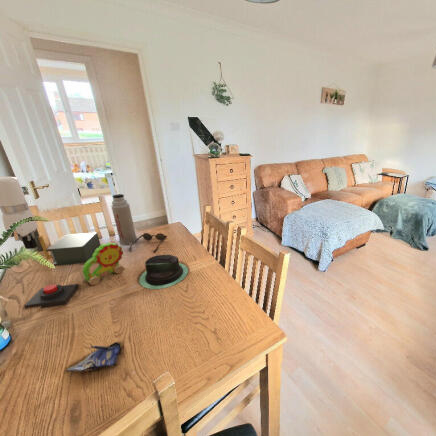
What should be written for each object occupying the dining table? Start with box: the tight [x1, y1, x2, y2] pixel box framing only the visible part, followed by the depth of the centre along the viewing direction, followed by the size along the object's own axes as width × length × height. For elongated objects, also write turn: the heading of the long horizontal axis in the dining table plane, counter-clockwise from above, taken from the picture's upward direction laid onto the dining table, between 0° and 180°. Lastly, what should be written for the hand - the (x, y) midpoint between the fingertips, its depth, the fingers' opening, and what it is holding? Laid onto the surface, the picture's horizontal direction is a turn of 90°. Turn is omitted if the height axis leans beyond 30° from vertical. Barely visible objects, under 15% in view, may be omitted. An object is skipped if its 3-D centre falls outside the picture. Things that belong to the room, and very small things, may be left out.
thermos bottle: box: [111, 193, 138, 246], centre depth 132 cm, size 8×8×28 cm
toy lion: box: [82, 242, 124, 286], centre depth 105 cm, size 16×5×15 cm, turn 155°
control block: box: [23, 283, 80, 309], centre depth 93 cm, size 12×10×4 cm
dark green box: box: [46, 231, 102, 267], centre depth 120 cm, size 14×16×9 cm
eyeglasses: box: [129, 232, 168, 253], centre depth 133 cm, size 15×15×5 cm
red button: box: [43, 284, 58, 294], centre depth 92 cm, size 4×4×2 cm
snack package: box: [66, 342, 122, 373], centre depth 70 cm, size 12×6×12 cm
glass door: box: [37, 235, 56, 263], centre depth 113 cm, size 3×7×14 cm, turn 17°
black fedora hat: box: [138, 253, 189, 290], centre depth 110 cm, size 15×19×20 cm
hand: (31, 247), depth 103 cm, fingers closed
